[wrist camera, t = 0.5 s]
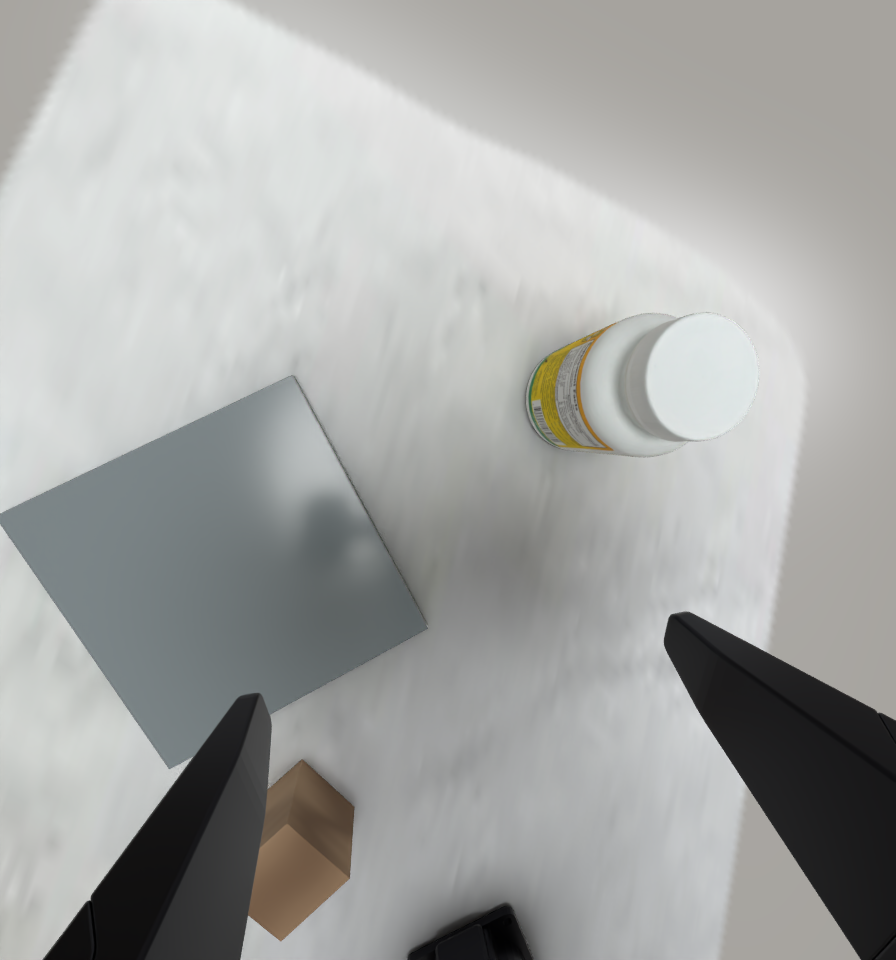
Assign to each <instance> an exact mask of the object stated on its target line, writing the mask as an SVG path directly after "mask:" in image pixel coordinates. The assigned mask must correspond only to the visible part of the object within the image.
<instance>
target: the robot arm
mask: <svg viewBox="0 0 896 960" xmlns="http://www.w3.org/2000/svg"><path fill="white" fill-rule="evenodd" d="M664 646H665V649H666V651H667V653H668V655H669V657H670V659H671V661H672V663H673V665H674V667H675V668H676V670H677V672H678V674H679V676H680V678H681V680H682V682H683V684H684V685H685V687H686V689H687V691H688V693H689V695H690V697H691V699H692V700H693V702H694V704H695V706H696V708H697V709H698V711H699V713H700V715H701V716H702V718H703V720H704V721H705V723H706V724H707V726H708V727H709V729H710V730H711V732H712V733H713V735H714V737H715V738H716V740H717V741H718V743H719V744H720V746H721V747H722V749H723V750H724V752H725V753H726V755H727V756H728V758H729V759H730V761H731V762H732V764H733V765H734V767H735V769H736V770H737V772H738V773H739V775H740V776H741V778H742V779H743V781H744V782H745V784H746V785H747V787H748V788H749V790H750V791H751V793H752V794H753V796H754V797H755V799H756V801H757V802H758V804H759V805H760V806H761V808H762V810H763V811H764V813H765V814H766V816H767V817H768V819H769V820H770V822H771V823H772V825H773V826H774V828H775V829H776V831H777V832H778V834H779V836H780V837H781V839H782V840H783V841H784V843H785V845H786V846H787V848H788V849H789V851H790V852H791V854H792V855H793V857H794V858H795V860H796V861H797V863H798V865H799V866H800V867H801V869H802V870H803V872H804V874H805V875H806V877H807V878H808V880H809V881H810V883H811V884H812V886H813V887H814V889H815V890H816V892H817V893H818V895H819V896H820V898H821V900H822V901H823V903H824V904H825V906H826V907H827V909H828V910H829V912H830V913H831V915H832V916H833V918H834V919H835V921H836V922H837V924H838V925H839V927H840V928H841V930H842V932H843V933H844V935H845V936H846V938H847V939H848V941H849V942H850V944H851V945H852V947H853V948H854V950H855V951H856V953H857V954H858V956H859V957H860V959H861V960H896V720H894V719H892V718H890V717H888V716H886V715H884V714H882V713H877V711H876V710H875V709H873V708H871V707H869V706H867V705H865V704H863V703H861V702H859V701H858V700H856V699H854V698H852V697H850V696H848V695H846V694H844V693H842V692H840V691H839V690H837V689H835V688H833V687H831V686H829V685H827V684H825V683H823V682H821V681H820V680H818V679H816V678H814V677H812V676H810V675H808V674H806V673H805V672H803V671H801V670H799V669H797V668H795V667H793V666H791V665H789V664H787V663H786V662H784V661H782V660H780V659H778V658H776V657H774V656H772V655H770V654H769V653H767V652H765V651H763V650H761V649H759V648H757V647H755V646H753V645H752V644H750V643H748V642H746V641H744V640H742V639H740V638H738V637H736V636H734V635H733V634H731V633H729V632H727V631H725V630H723V629H721V628H719V627H717V626H716V625H714V624H712V623H710V622H708V621H706V620H704V619H702V618H700V617H698V616H697V615H695V614H693V613H690V612H680V613H675V614H671V615H670V617H669V619H668V623H667V627H666V632H665V636H664ZM271 731H272V725H271V718H270V715H269V712H268V709H267V707H266V704H265V701H264V698H263V696H262V694H261V693H257V692H256V693H251V694H246V695H241V696H239V697H238V698H237V699H236V700H235V701H234V703H233V704H232V705H231V707H230V708H229V710H228V711H227V712H226V714H225V715H224V716H223V718H222V719H221V720H220V722H219V723H218V724H217V726H216V727H215V728H214V730H213V731H212V733H211V734H210V735H209V737H208V738H207V739H206V741H205V742H204V743H203V745H202V746H201V747H200V749H199V750H198V751H197V753H196V754H195V756H194V757H193V758H192V760H191V761H190V762H189V764H188V765H187V766H186V768H185V769H184V770H183V772H182V773H181V774H180V776H179V777H178V778H177V780H176V781H175V783H174V784H173V785H172V787H171V788H170V789H169V791H168V792H167V793H166V795H165V796H164V797H163V799H162V800H161V801H160V803H159V804H158V806H157V807H156V808H155V810H154V811H153V812H152V814H151V815H150V816H149V818H148V819H147V820H146V822H145V823H144V824H143V826H142V827H141V829H140V830H139V831H138V833H137V834H136V835H135V837H134V838H133V839H132V841H131V842H130V843H129V845H128V846H127V847H126V849H125V850H124V852H123V853H122V854H121V856H120V857H119V858H118V860H117V861H116V862H115V864H114V865H113V866H112V868H111V869H110V870H109V872H108V873H107V874H106V876H105V877H104V879H103V880H102V881H101V883H100V884H99V885H98V887H97V888H96V889H95V891H94V892H93V893H92V895H91V901H90V900H89V901H87V902H86V903H85V904H84V905H83V907H82V908H81V909H80V911H79V912H78V913H77V915H76V916H75V917H74V919H73V920H72V922H71V923H70V924H69V926H68V927H67V928H66V930H65V931H64V932H63V934H62V935H61V936H60V937H59V939H58V940H57V941H56V943H55V944H54V945H53V947H52V948H51V949H50V951H49V952H48V953H47V954H46V956H45V957H44V958H43V960H240V958H241V952H242V946H243V941H244V935H245V929H246V923H247V918H248V912H249V906H250V901H251V895H252V889H253V883H254V878H255V872H256V866H257V860H258V855H259V849H260V843H261V837H262V832H263V826H264V819H265V812H266V801H267V788H268V774H269V759H270V745H271ZM407 960H534V959H533V957H532V954H531V952H530V949H529V947H528V944H527V942H526V940H525V937H524V935H523V932H522V930H521V927H520V925H519V922H518V920H517V918H516V915H515V913H514V910H513V909H512V908H511V907H508V906H505V907H502V908H500V909H498V910H496V911H494V912H493V913H491V914H489V915H487V916H485V917H483V918H481V919H479V920H477V921H475V922H473V923H471V924H469V925H467V926H465V927H463V928H461V929H459V930H457V931H455V932H453V933H451V934H449V935H447V936H445V937H443V938H441V939H439V940H437V941H435V942H433V943H431V944H429V945H427V946H425V947H423V948H421V949H419V950H417V951H415V952H413V953H412V954H410V955H409V957H408V959H407Z"/></svg>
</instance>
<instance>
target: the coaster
mask: <svg viewBox="0 0 896 960" xmlns="http://www.w3.org/2000/svg"><path fill="white" fill-rule="evenodd" d="M0 524H1V526H2V527H3V529H4V530H5V532H6V533H7V535H8V536H9V537H10V539H11V540H12V542H13V543H14V545H15V546H16V548H17V549H18V551H19V552H20V553H21V555H22V556H23V558H24V559H25V561H26V562H27V564H28V565H29V566H30V568H31V569H32V571H33V572H34V574H35V575H36V577H37V578H38V580H39V581H40V582H41V584H42V585H43V587H44V588H45V590H46V591H47V593H48V594H49V595H50V597H51V598H52V600H53V601H54V603H55V604H56V606H57V607H58V609H59V610H60V611H61V613H62V614H63V616H64V617H65V619H66V620H67V622H68V623H69V624H70V626H71V627H72V629H73V630H74V632H75V633H76V635H77V636H78V638H79V639H80V640H81V642H82V643H83V645H84V646H85V648H86V649H87V651H88V652H89V654H90V655H91V656H92V658H93V659H94V661H95V662H96V664H97V665H98V667H99V668H100V669H101V671H102V672H103V674H104V675H105V677H106V678H107V680H108V681H109V683H110V684H111V685H112V687H113V688H114V690H115V691H116V693H117V694H118V696H119V697H120V698H121V700H122V701H123V703H124V704H125V706H126V707H127V709H128V710H129V712H130V713H131V714H132V716H133V717H134V719H135V720H136V722H137V723H138V725H139V726H140V727H141V729H142V730H143V732H144V733H145V735H146V736H147V738H148V739H149V741H150V742H151V743H152V745H153V746H154V748H155V749H156V751H157V752H158V754H159V755H160V756H161V758H162V759H163V761H164V762H165V764H166V765H167V767H168V768H169V769H171V768H173V767H174V766H176V765H178V764H180V763H182V762H184V761H185V760H187V759H189V758H191V757H193V756H195V754H196V753H197V751H198V750H199V749H200V747H201V746H202V745H203V743H204V742H205V741H206V739H207V738H208V737H209V735H210V734H211V733H212V731H213V730H214V728H215V727H216V726H217V724H218V723H219V722H220V720H221V719H222V718H223V716H224V715H225V714H226V712H227V711H228V710H229V708H230V707H231V705H232V704H233V703H234V701H235V700H236V699H237V698H238V697H239V696H241V695H246V694H251V693H256V692H257V693H261V694H262V696H263V698H264V701H265V704H266V707H267V709H268V712H269V715H270V714H272V713H274V712H275V711H277V710H279V709H281V708H283V707H285V706H286V705H288V704H290V703H292V702H294V701H296V700H297V699H299V698H301V697H303V696H305V695H307V694H308V693H310V692H312V691H314V690H316V689H318V688H319V687H321V686H323V685H325V684H327V683H329V682H330V681H332V680H334V679H336V678H338V677H340V676H341V675H343V674H345V673H347V672H349V671H351V670H353V669H354V668H356V667H358V666H360V665H362V664H364V663H365V662H367V661H369V660H371V659H373V658H375V657H376V656H378V655H380V654H382V653H384V652H386V651H387V650H389V649H391V648H393V647H395V646H397V645H398V644H400V643H402V642H404V641H406V640H408V639H409V638H411V637H413V636H415V635H417V634H419V633H420V632H422V631H424V630H426V629H428V627H427V623H426V622H425V620H424V618H423V616H422V614H421V612H420V610H419V608H418V607H417V605H416V603H415V601H414V599H413V597H412V595H411V594H410V592H409V590H408V588H407V586H406V584H405V582H404V580H403V579H402V577H401V575H400V573H399V571H398V569H397V567H396V566H395V564H394V562H393V560H392V558H391V556H390V554H389V552H388V551H387V549H386V547H385V545H384V543H383V541H382V539H381V538H380V536H379V534H378V532H377V530H376V528H375V526H374V524H373V523H372V521H371V519H370V517H369V515H368V513H367V511H366V510H365V508H364V506H363V504H362V502H361V500H360V498H359V496H358V495H357V493H356V491H355V489H354V487H353V485H352V483H351V482H350V480H349V478H348V476H347V474H346V472H345V470H344V468H343V467H342V465H341V463H340V461H339V459H338V457H337V455H336V454H335V452H334V450H333V448H332V446H331V444H330V442H329V440H328V439H327V437H326V435H325V433H324V431H323V429H322V427H321V426H320V424H319V422H318V420H317V418H316V416H315V414H314V412H313V411H312V409H311V407H310V405H309V403H308V401H307V399H306V398H305V396H304V394H303V392H302V390H301V388H300V386H299V385H298V383H297V381H296V379H295V377H294V376H292V375H291V376H289V377H287V378H285V379H283V380H281V381H279V382H277V383H275V384H272V385H270V386H268V387H266V388H264V389H262V390H260V391H258V392H256V393H253V394H251V395H249V396H247V397H245V398H243V399H241V400H239V401H237V402H234V403H232V404H230V405H228V406H226V407H224V408H222V409H220V410H218V411H216V412H213V413H211V414H209V415H207V416H205V417H203V418H201V419H199V420H197V421H194V422H192V423H190V424H188V425H186V426H184V427H182V428H180V429H178V430H175V431H173V432H171V433H169V434H167V435H165V436H163V437H161V438H159V439H157V440H154V441H152V442H150V443H148V444H146V445H144V446H142V447H140V448H138V449H135V450H133V451H131V452H129V453H127V454H125V455H123V456H121V457H119V458H116V459H114V460H112V461H110V462H108V463H106V464H104V465H102V466H100V467H97V468H95V469H93V470H91V471H89V472H87V473H85V474H83V475H81V476H79V477H76V478H74V479H72V480H70V481H68V482H66V483H64V484H62V485H60V486H57V487H55V488H53V489H51V490H49V491H47V492H45V493H43V494H41V495H38V496H36V497H34V498H32V499H30V500H28V501H26V502H24V503H22V504H19V505H17V506H15V507H13V508H11V509H9V510H7V511H5V512H3V513H1V514H0Z"/></svg>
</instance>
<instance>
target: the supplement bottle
mask: <svg viewBox="0 0 896 960" xmlns="http://www.w3.org/2000/svg"><path fill="white" fill-rule="evenodd" d="M758 384H759V363H758V356H757V352H756V350H755V347H754V345H753V343H752V341H751V339H750V338H749V336H748V335H747V333H746V332H745V331H744V330H743V329H742V328H741V327H740V326H739V325H738V324H737V323H735V322H734V321H733V320H731V319H729V318H727V317H725V316H722V315H719V314H715V313H707V312H706V313H696V314H691V315H687V316H684V317H681V318H676V317H674V316H670V315H667V314H660V313H646V314H640V315H635V316H632V317H629V318H626V319H624V320H621V321H619V322H617V323H614V324H612V325H610V326H608V327H605V328H603V329H601V330H599V331H597V332H595V333H593V334H590V335H588V336H586V337H584V338H582V339H580V340H578V341H576V342H573V343H571V344H569V345H567V346H565V347H563V348H561V349H559V350H557V351H555V352H553V353H551V354H550V355H548V356H547V357H545V358H544V359H543V360H542V361H541V362H540V363H539V364H538V365H537V367H536V368H535V370H534V371H533V373H532V375H531V377H530V380H529V383H528V386H527V391H526V407H527V412H528V416H529V419H530V421H531V423H532V425H533V427H534V429H535V430H536V432H537V433H538V434H539V435H540V436H541V437H542V438H543V439H544V440H545V441H547V442H548V443H550V444H551V445H553V446H555V447H558V448H561V449H564V450H570V451H581V452H592V453H604V454H614V455H623V456H632V457H654V456H659V455H663V454H667V453H670V452H672V451H674V450H676V449H678V448H680V447H682V446H683V445H685V444H686V443H688V442H689V441H705V440H710V439H714V438H717V437H720V436H722V435H724V434H726V433H727V432H729V431H730V430H732V429H733V428H734V427H736V426H737V425H738V424H739V423H740V422H741V421H742V419H743V418H744V417H745V415H746V414H747V413H748V411H749V409H750V408H751V406H752V404H753V401H754V399H755V396H756V393H757V389H758Z"/></svg>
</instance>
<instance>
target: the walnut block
mask: <svg viewBox="0 0 896 960" xmlns="http://www.w3.org/2000/svg"><path fill="white" fill-rule="evenodd" d="M353 821H354V806H353V805H352V804H351V803H350V802H348V801H347V800H346V799H345V798H344V797H343V796H342V795H341V794H340V793H339V792H337V791H336V790H335V789H334V788H333V787H332V786H331V785H330V784H329V783H328V782H327V781H325V780H324V779H323V778H322V777H321V776H320V775H319V774H318V773H317V772H316V771H315V770H313V769H312V768H311V767H310V766H309V765H308V764H307V763H306V762H305V761H304V760H301V761H300V762H298V763H297V764H296V765H295V766H294V767H293V768H292V769H291V770H289V771H288V772H287V773H286V774H285V775H284V776H283V777H282V778H280V779H279V780H278V781H277V782H276V783H275V784H274V785H273V786H271V787H270V788H269V789H268V790H267V801H266V812H265V819H264V826H263V832H262V837H261V843H260V849H259V855H258V860H257V866H256V872H255V878H254V883H253V889H252V895H251V901H250V906H249V912H248V915H249V916H250V917H251V918H252V919H254V920H255V921H256V922H257V923H259V924H260V925H261V926H262V927H263V928H265V929H266V930H267V931H268V932H270V933H271V934H272V935H273V936H275V937H276V938H277V939H278V940H280V941H282V940H283V939H284V938H285V937H286V936H287V935H288V934H290V933H291V932H292V931H293V930H294V929H295V928H296V927H297V926H298V925H299V924H301V923H302V922H303V921H304V920H305V919H306V918H307V917H308V916H309V915H310V914H311V913H313V912H314V911H315V910H316V909H317V908H318V907H319V906H320V905H321V904H322V903H323V902H325V901H326V900H327V899H328V898H329V897H330V896H331V895H332V894H333V893H334V892H335V891H337V890H338V889H339V888H340V887H341V886H342V885H343V884H344V883H345V882H346V881H347V880H349V879H350V867H351V851H352V836H353Z"/></svg>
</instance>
